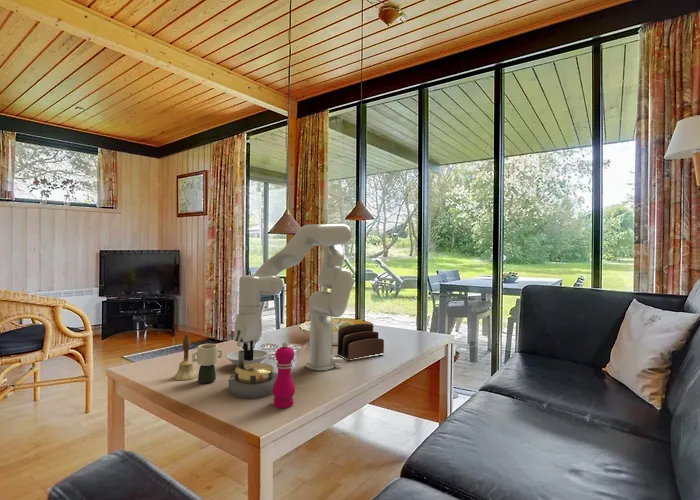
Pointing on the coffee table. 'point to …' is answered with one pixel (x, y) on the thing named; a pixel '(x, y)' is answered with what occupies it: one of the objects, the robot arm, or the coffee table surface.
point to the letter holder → (358, 341)
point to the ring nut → (252, 371)
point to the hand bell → (186, 363)
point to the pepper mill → (284, 378)
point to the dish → (257, 358)
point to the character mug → (207, 361)
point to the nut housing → (251, 388)
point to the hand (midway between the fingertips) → (248, 359)
